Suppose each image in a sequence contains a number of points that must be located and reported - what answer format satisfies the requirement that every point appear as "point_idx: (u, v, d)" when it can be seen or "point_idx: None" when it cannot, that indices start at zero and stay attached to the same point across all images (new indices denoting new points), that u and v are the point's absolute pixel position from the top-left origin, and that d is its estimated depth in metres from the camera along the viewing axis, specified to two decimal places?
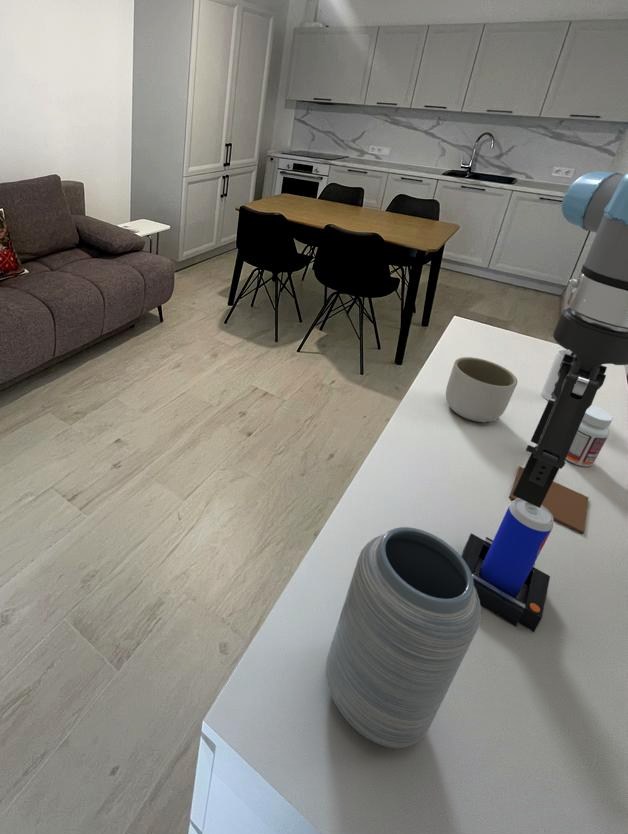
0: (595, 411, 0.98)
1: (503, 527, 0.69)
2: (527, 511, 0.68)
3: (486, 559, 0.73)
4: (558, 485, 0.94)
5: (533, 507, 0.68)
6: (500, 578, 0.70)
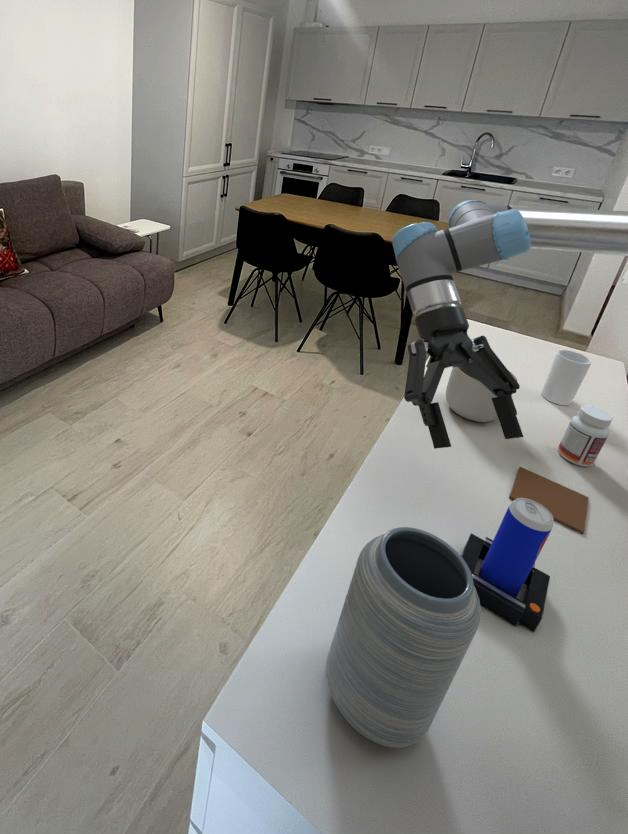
0: (595, 411, 0.98)
1: (503, 527, 0.69)
2: (527, 511, 0.68)
3: (486, 559, 0.73)
4: (558, 485, 0.94)
5: (533, 507, 0.68)
6: (500, 578, 0.70)
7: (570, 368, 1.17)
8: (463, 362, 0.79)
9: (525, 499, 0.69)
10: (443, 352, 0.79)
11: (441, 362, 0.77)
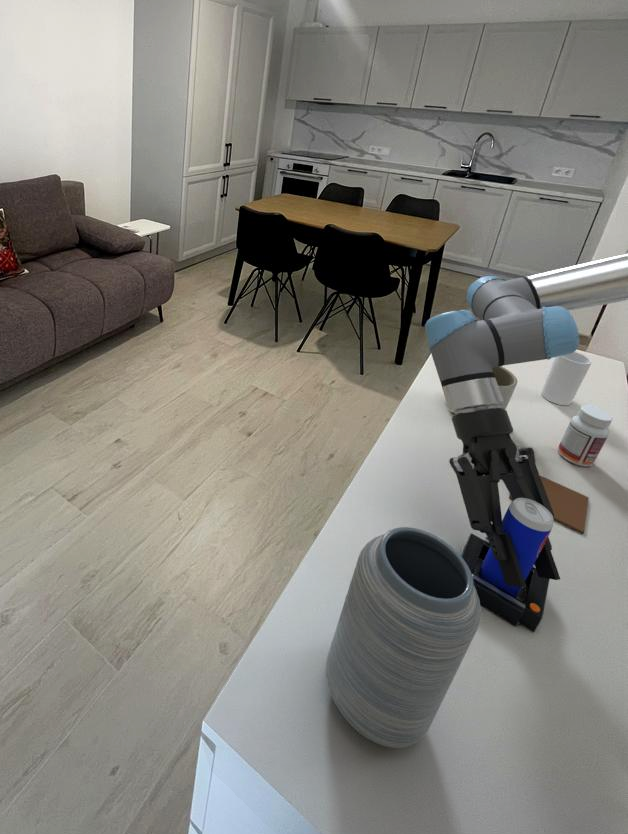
0: (595, 411, 0.98)
1: (503, 527, 0.69)
2: (527, 511, 0.68)
3: (486, 559, 0.73)
4: (558, 485, 0.94)
5: (533, 507, 0.68)
6: (500, 578, 0.70)
7: (570, 368, 1.17)
8: (507, 471, 0.72)
9: (525, 499, 0.69)
10: (488, 464, 0.72)
11: (493, 479, 0.70)
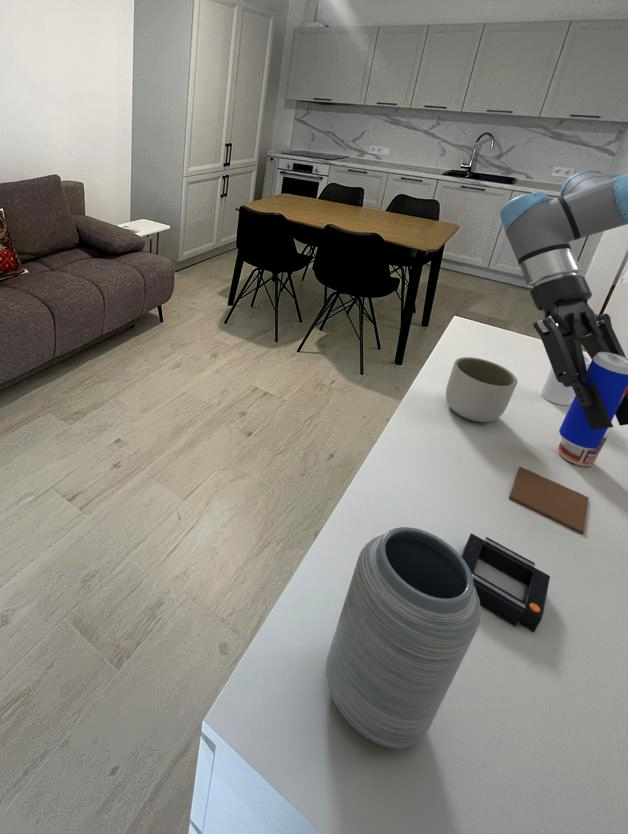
0: None
1: None
2: (610, 360, 0.73)
3: (568, 415, 0.78)
4: (558, 485, 0.94)
5: (616, 358, 0.74)
6: (584, 427, 0.76)
7: None
8: (587, 332, 0.78)
9: (607, 353, 0.75)
10: (571, 324, 0.77)
11: (576, 336, 0.76)
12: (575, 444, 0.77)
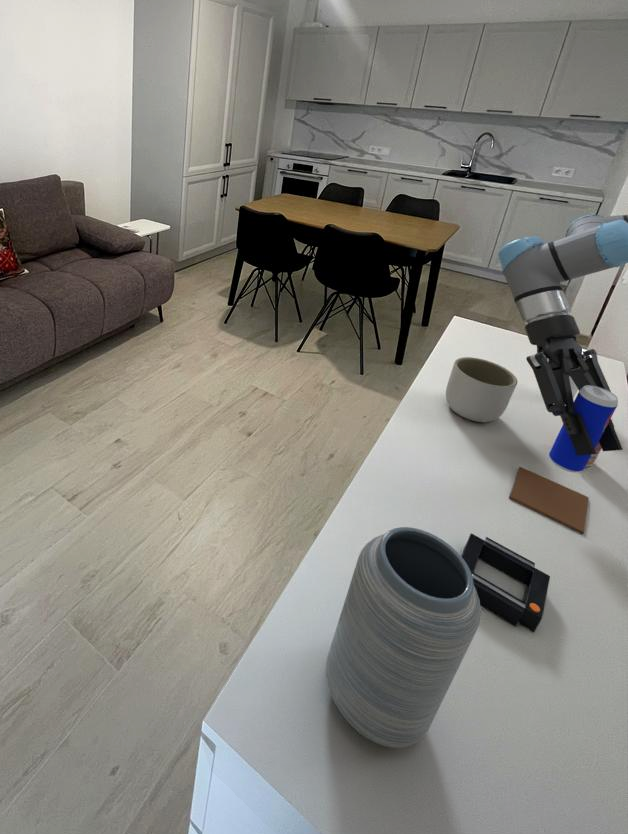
0: None
1: None
2: (595, 393, 0.82)
3: (557, 440, 0.87)
4: (558, 485, 0.94)
5: (600, 391, 0.83)
6: (570, 452, 0.85)
7: None
8: (575, 366, 0.86)
9: (592, 386, 0.84)
10: (560, 359, 0.86)
11: (565, 371, 0.85)
12: (563, 467, 0.86)
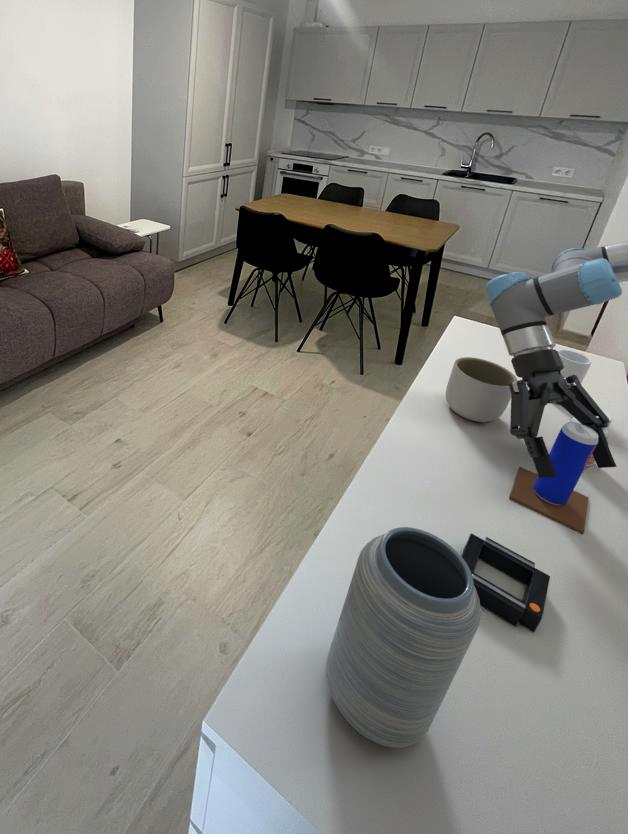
0: None
1: (556, 445, 0.87)
2: (576, 431, 0.85)
3: None
4: None
5: (581, 428, 0.86)
6: (553, 487, 0.88)
7: (570, 368, 1.17)
8: (559, 399, 0.89)
9: (574, 423, 0.87)
10: (542, 390, 0.89)
11: (542, 400, 0.88)
12: (546, 500, 0.89)
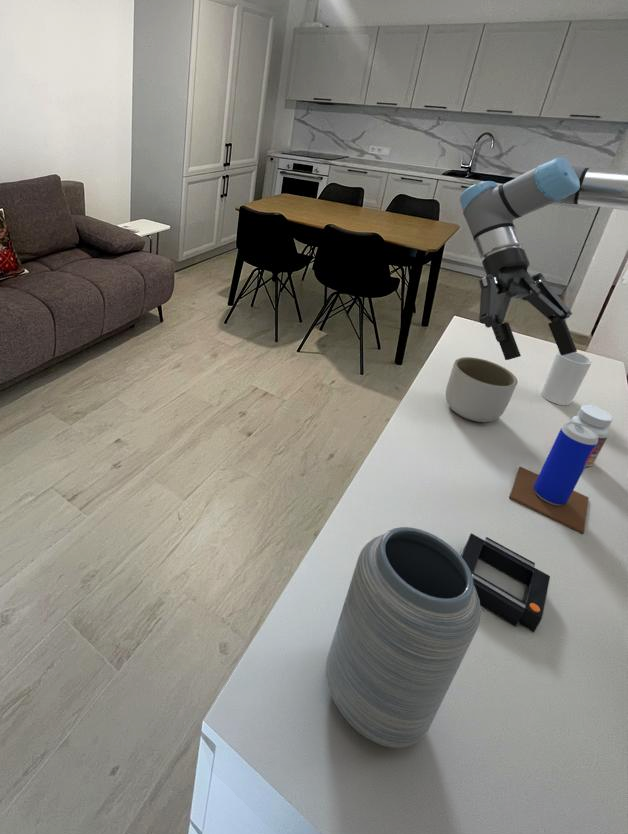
0: (595, 411, 0.98)
1: (556, 445, 0.87)
2: (576, 431, 0.85)
3: (541, 474, 0.90)
4: None
5: (581, 428, 0.86)
6: (553, 487, 0.88)
7: (570, 368, 1.17)
8: (525, 293, 0.97)
9: (574, 423, 0.87)
10: (509, 284, 0.96)
11: (508, 292, 0.95)
12: (546, 500, 0.89)
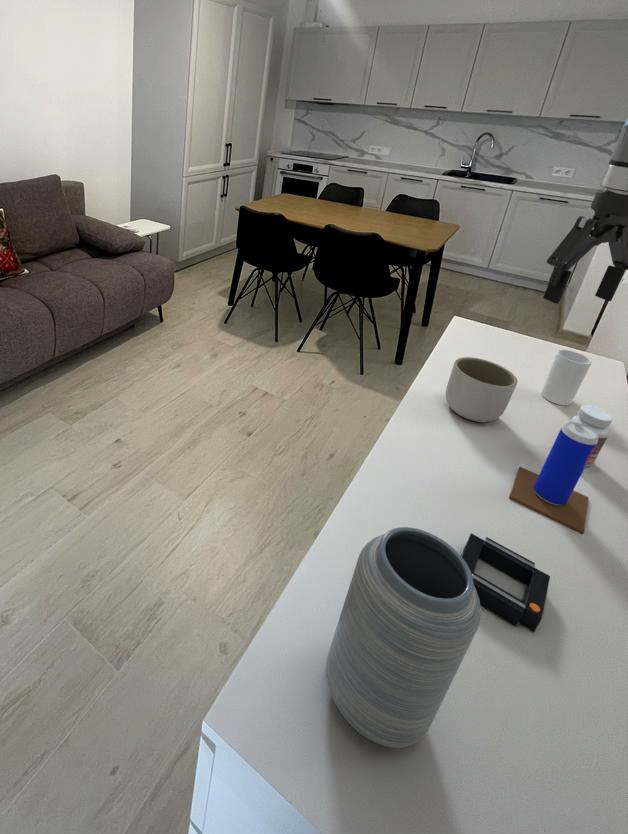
0: (595, 411, 0.98)
1: (556, 445, 0.87)
2: (576, 431, 0.85)
3: (541, 474, 0.90)
4: None
5: (581, 428, 0.86)
6: (553, 487, 0.88)
7: (570, 368, 1.17)
8: (612, 241, 0.92)
9: (574, 423, 0.87)
10: (603, 231, 0.90)
11: (596, 241, 0.90)
12: (546, 500, 0.89)
